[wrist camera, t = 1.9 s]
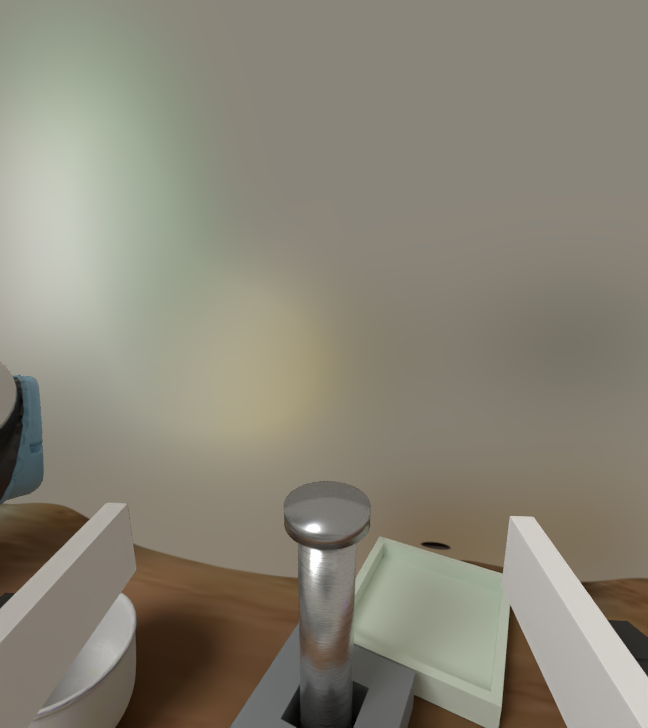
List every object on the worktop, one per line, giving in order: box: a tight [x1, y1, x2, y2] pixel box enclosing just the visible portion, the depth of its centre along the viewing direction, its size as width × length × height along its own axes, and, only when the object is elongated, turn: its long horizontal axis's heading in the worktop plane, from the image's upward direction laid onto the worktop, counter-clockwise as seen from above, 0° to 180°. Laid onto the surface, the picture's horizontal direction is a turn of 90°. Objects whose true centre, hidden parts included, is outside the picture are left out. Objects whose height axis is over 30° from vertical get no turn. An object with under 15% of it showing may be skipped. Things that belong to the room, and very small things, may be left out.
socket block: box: [230, 623, 416, 728], centre depth 29 cm, size 10×10×4 cm
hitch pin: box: [284, 481, 371, 728], centre depth 28 cm, size 5×5×19 cm
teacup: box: [28, 592, 137, 728], centre depth 28 cm, size 14×11×8 cm
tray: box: [354, 536, 510, 728], centre depth 39 cm, size 14×14×2 cm
